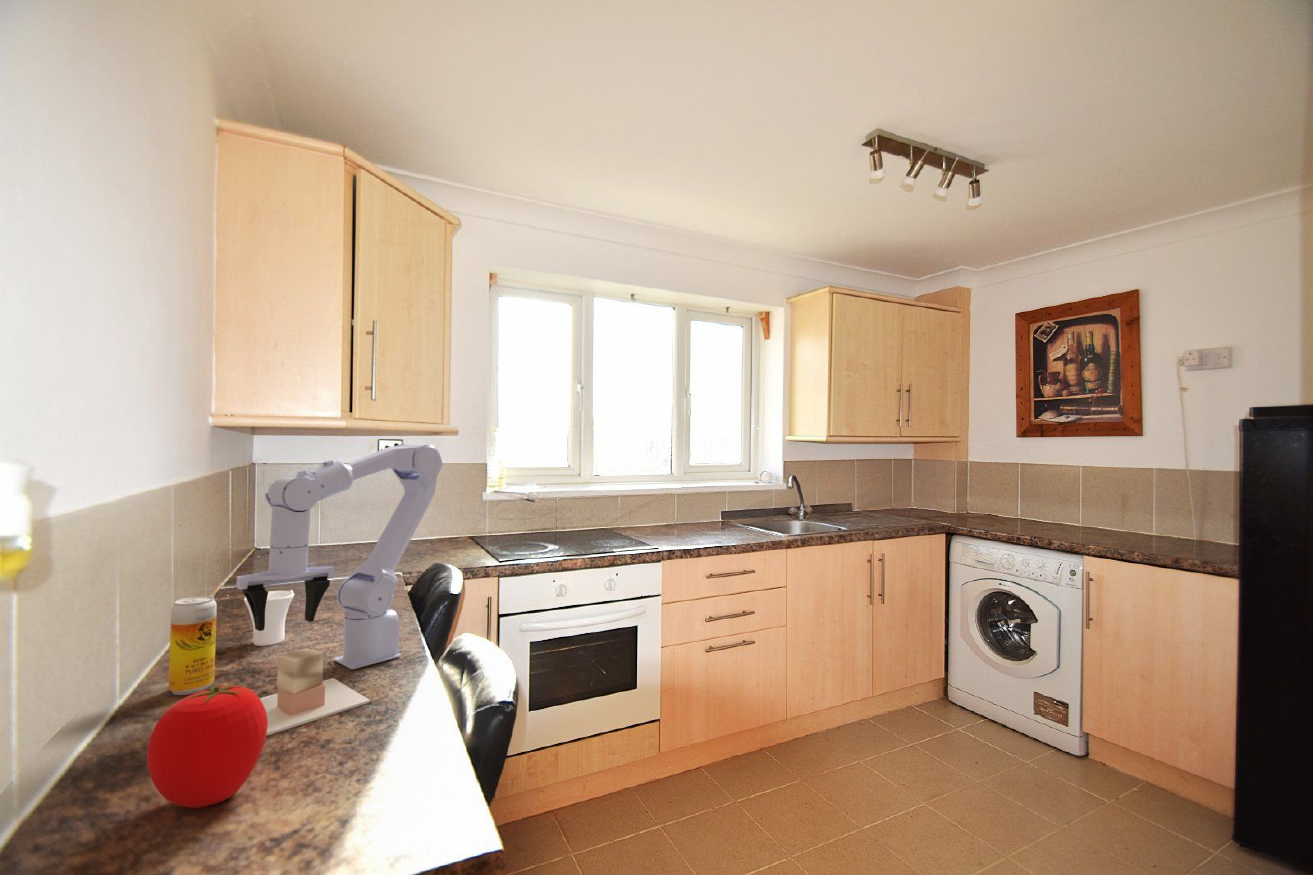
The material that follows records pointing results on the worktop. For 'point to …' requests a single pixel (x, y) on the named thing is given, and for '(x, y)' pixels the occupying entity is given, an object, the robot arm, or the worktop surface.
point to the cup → (272, 618)
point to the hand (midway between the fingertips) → (285, 625)
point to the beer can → (192, 644)
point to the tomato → (207, 745)
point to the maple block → (300, 670)
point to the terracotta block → (301, 700)
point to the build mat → (335, 702)
